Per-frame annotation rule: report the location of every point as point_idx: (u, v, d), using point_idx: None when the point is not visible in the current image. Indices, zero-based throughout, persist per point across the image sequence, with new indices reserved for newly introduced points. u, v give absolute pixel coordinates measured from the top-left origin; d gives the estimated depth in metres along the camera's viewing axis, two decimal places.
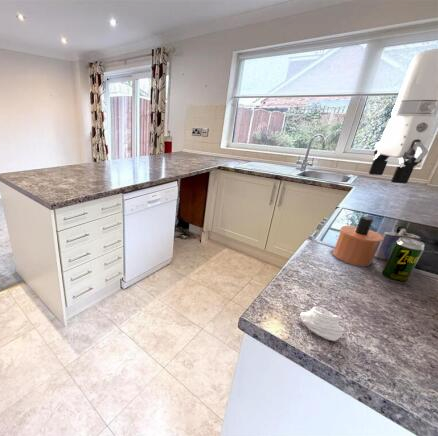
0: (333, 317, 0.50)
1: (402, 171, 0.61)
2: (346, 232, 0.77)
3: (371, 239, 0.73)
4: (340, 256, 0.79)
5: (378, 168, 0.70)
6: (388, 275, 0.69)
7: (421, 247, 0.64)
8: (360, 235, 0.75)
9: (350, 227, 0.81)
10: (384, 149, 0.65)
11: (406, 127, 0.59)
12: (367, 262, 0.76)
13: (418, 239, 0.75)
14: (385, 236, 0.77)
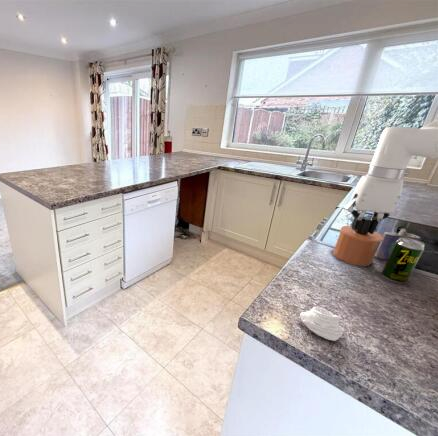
0: (333, 317, 0.50)
1: (376, 224, 0.74)
2: (346, 232, 0.77)
3: (371, 239, 0.73)
4: (340, 256, 0.79)
5: None
6: (388, 275, 0.69)
7: (421, 247, 0.64)
8: (360, 235, 0.75)
9: (350, 227, 0.81)
10: (371, 207, 0.72)
11: (398, 189, 0.68)
12: (367, 262, 0.76)
13: (418, 239, 0.75)
14: (385, 236, 0.77)
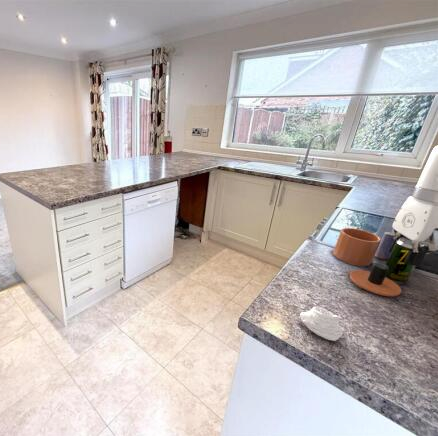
0: (333, 317, 0.50)
1: None
2: (358, 281, 0.67)
3: (387, 292, 0.63)
4: (340, 256, 0.79)
5: None
6: (388, 275, 0.69)
7: None
8: (374, 285, 0.65)
9: (361, 272, 0.71)
10: None
11: None
12: (367, 262, 0.76)
13: None
14: (385, 236, 0.77)
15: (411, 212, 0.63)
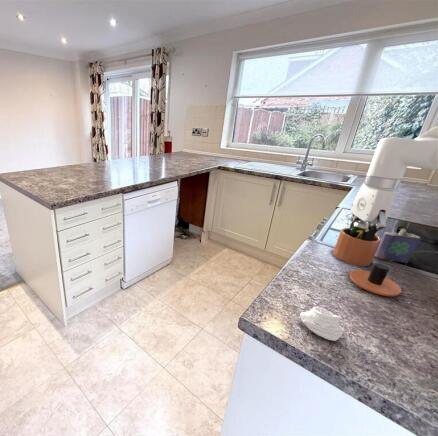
0: (333, 317, 0.50)
1: None
2: (358, 281, 0.67)
3: (387, 292, 0.63)
4: (340, 256, 0.79)
5: None
6: None
7: None
8: (374, 285, 0.65)
9: (361, 272, 0.71)
10: None
11: None
12: (367, 262, 0.76)
13: (418, 239, 0.75)
14: (385, 236, 0.77)
15: (363, 197, 0.73)
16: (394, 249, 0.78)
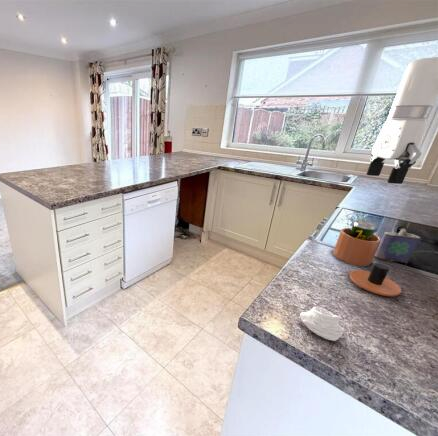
0: (333, 317, 0.50)
1: None
2: (358, 281, 0.67)
3: (387, 292, 0.63)
4: (340, 256, 0.79)
5: None
6: None
7: (372, 227, 0.74)
8: (374, 285, 0.65)
9: (361, 272, 0.71)
10: None
11: None
12: (367, 262, 0.76)
13: (418, 239, 0.75)
14: (385, 236, 0.77)
15: (387, 133, 0.66)
16: (394, 249, 0.78)
